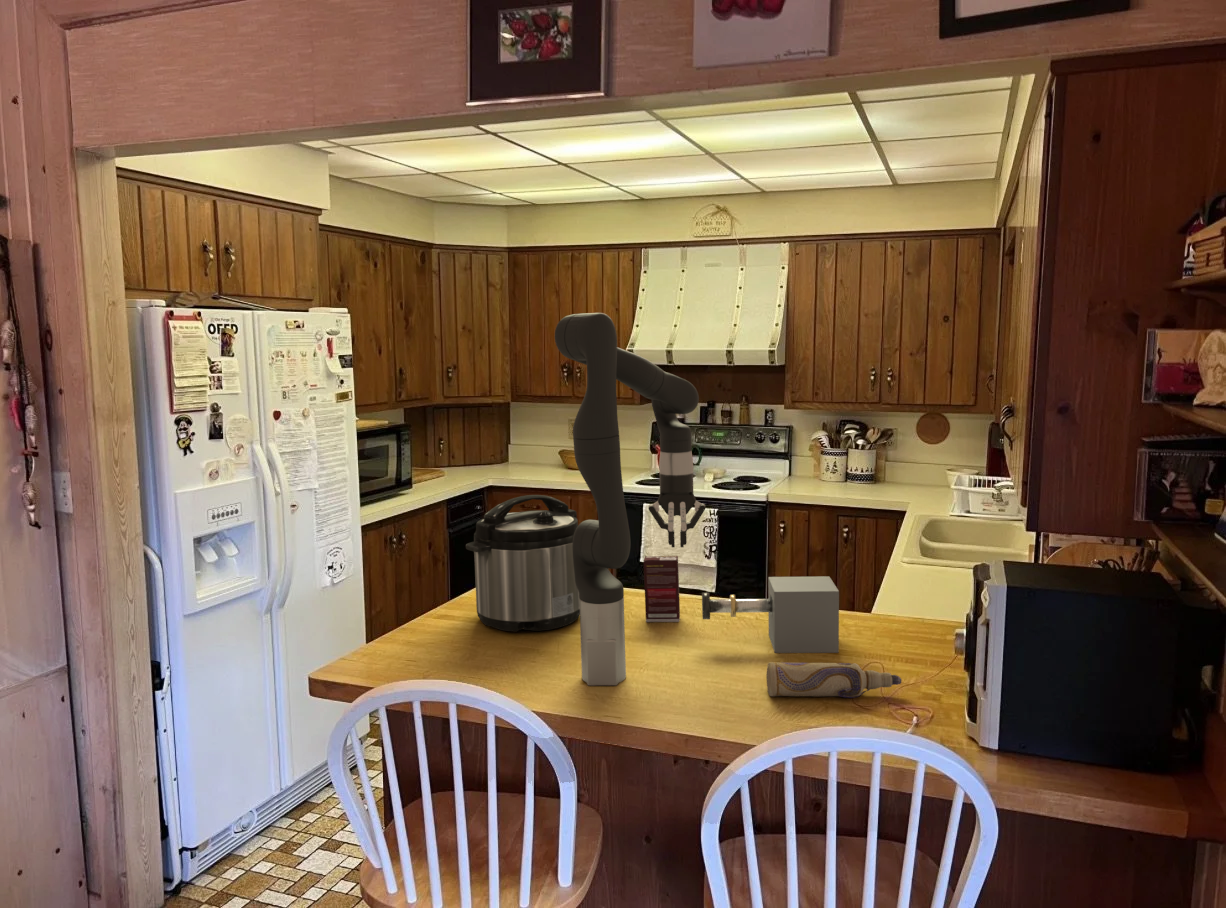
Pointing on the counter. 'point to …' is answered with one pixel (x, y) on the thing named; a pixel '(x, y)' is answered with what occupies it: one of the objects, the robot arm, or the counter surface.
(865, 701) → the counter surface
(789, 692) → the decorative bottle
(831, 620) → the bearing block
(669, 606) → the supplement box
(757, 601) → the shaft
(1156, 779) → the counter surface
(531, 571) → the pressure cooker
